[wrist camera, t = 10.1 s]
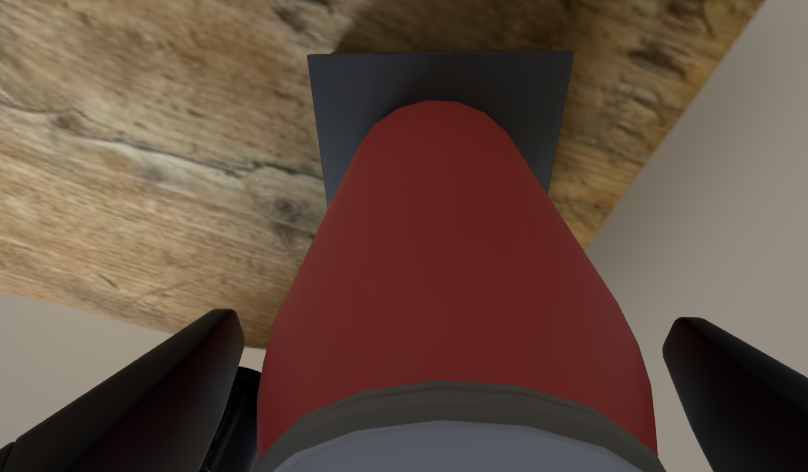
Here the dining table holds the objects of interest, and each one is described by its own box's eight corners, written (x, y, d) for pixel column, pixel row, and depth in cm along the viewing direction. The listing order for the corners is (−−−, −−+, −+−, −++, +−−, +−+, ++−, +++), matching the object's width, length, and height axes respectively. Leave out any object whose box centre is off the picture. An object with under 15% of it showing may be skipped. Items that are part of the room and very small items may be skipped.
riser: (518, 235, 20) (532, 270, 17) (347, 234, 20) (335, 268, 18) (548, 42, 15) (574, 50, 13) (326, 46, 16) (306, 55, 13)
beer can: (426, 275, 18) (427, 651, 7) (318, 175, 15) (102, 518, 5) (551, 188, 15) (817, 571, 5) (445, 53, 13) (527, 241, 3)
